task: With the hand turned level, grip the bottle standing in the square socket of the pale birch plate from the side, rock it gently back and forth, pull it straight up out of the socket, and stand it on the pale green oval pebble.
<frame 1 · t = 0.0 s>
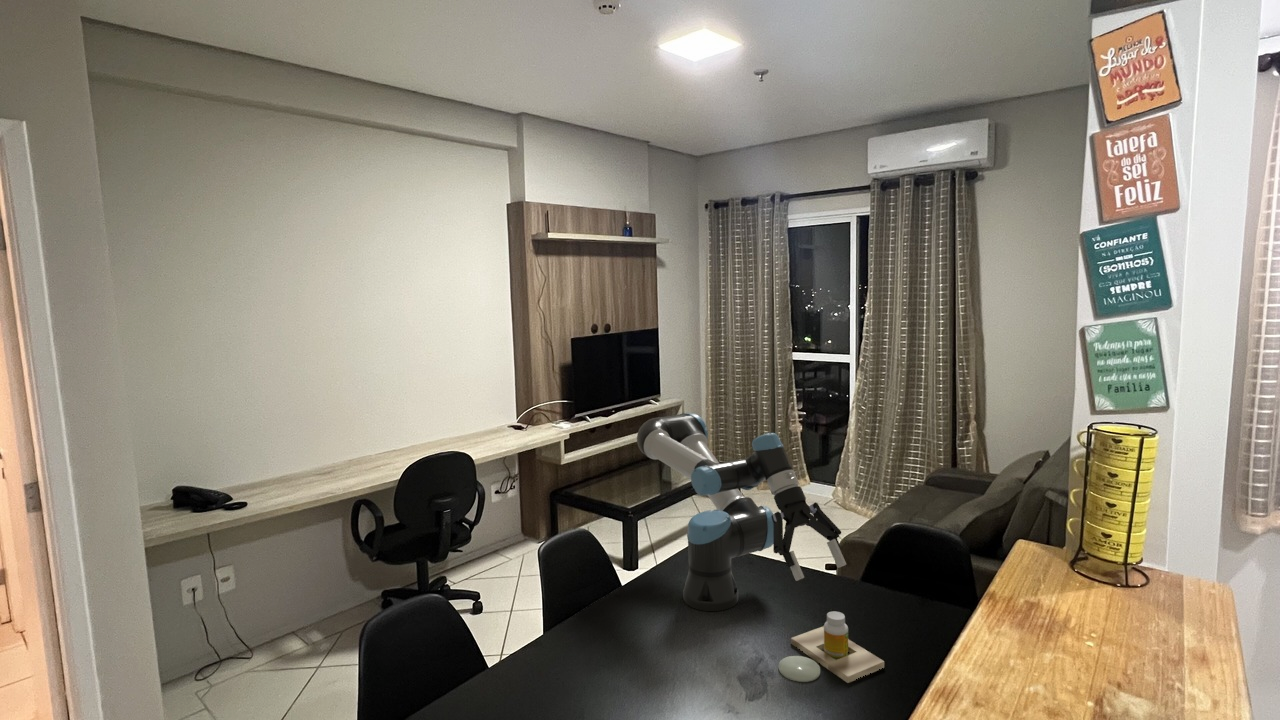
hand: (821, 572, 156), 15 cm above the table, tool tilted 35°, fingers open, 13 cm apart
supplement bottle: (836, 656, 148), resting in socket plate
socket plate: (836, 655, 148), on the table
pale green oval pebble: (799, 669, 143), on the table
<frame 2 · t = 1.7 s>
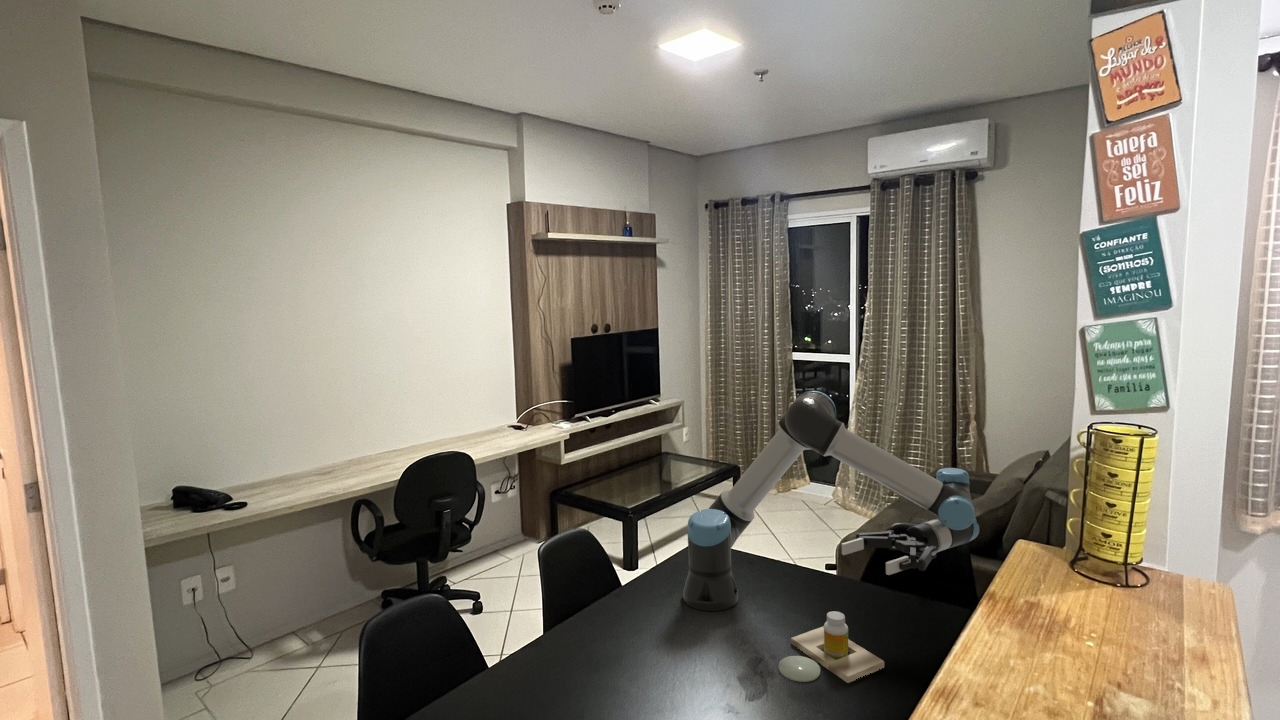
hand: (863, 558, 150), 21 cm above the table, tool horizontal, fingers open, 13 cm apart
nothing on the table moved.
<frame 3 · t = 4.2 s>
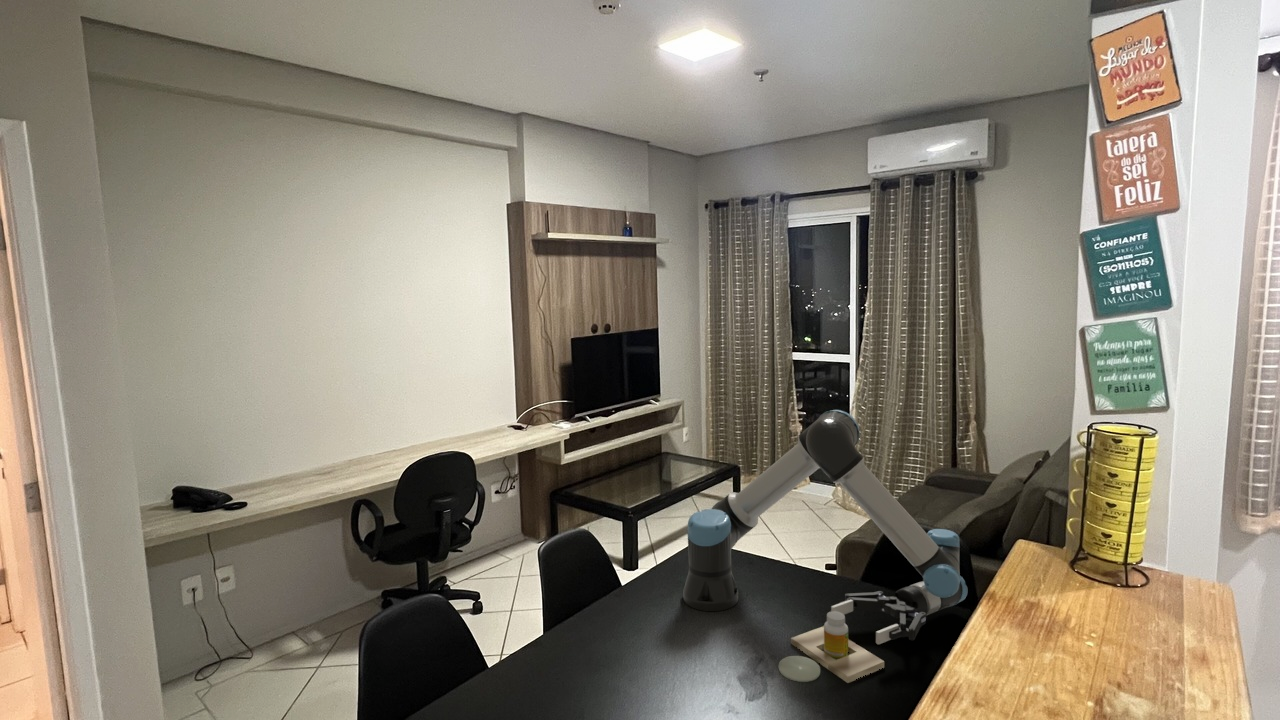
hand: (853, 624, 149), 6 cm above the table, tool horizontal, fingers open, 13 cm apart
nothing on the table moved.
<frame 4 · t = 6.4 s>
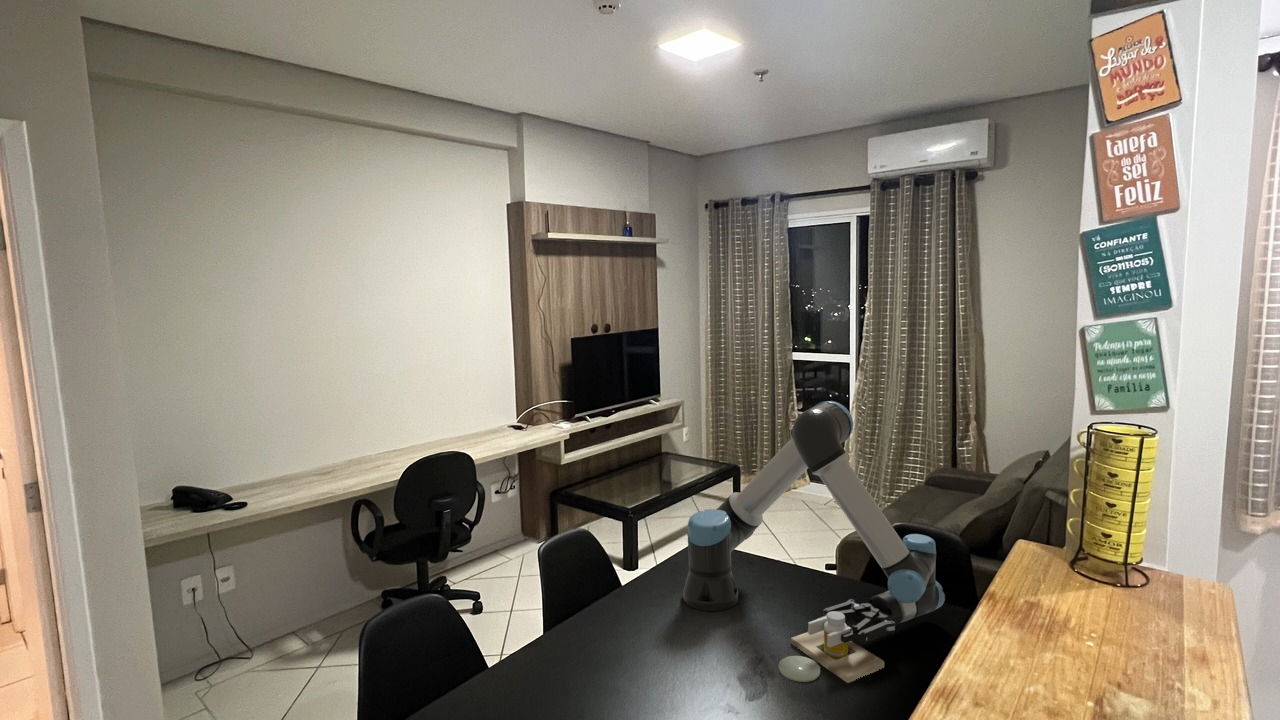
hand: (818, 634, 145), 7 cm above the table, tool horizontal, fingers closed on supplement bottle, 5 cm apart
supplement bottle: (836, 656, 148), resting in socket plate, touching gripper
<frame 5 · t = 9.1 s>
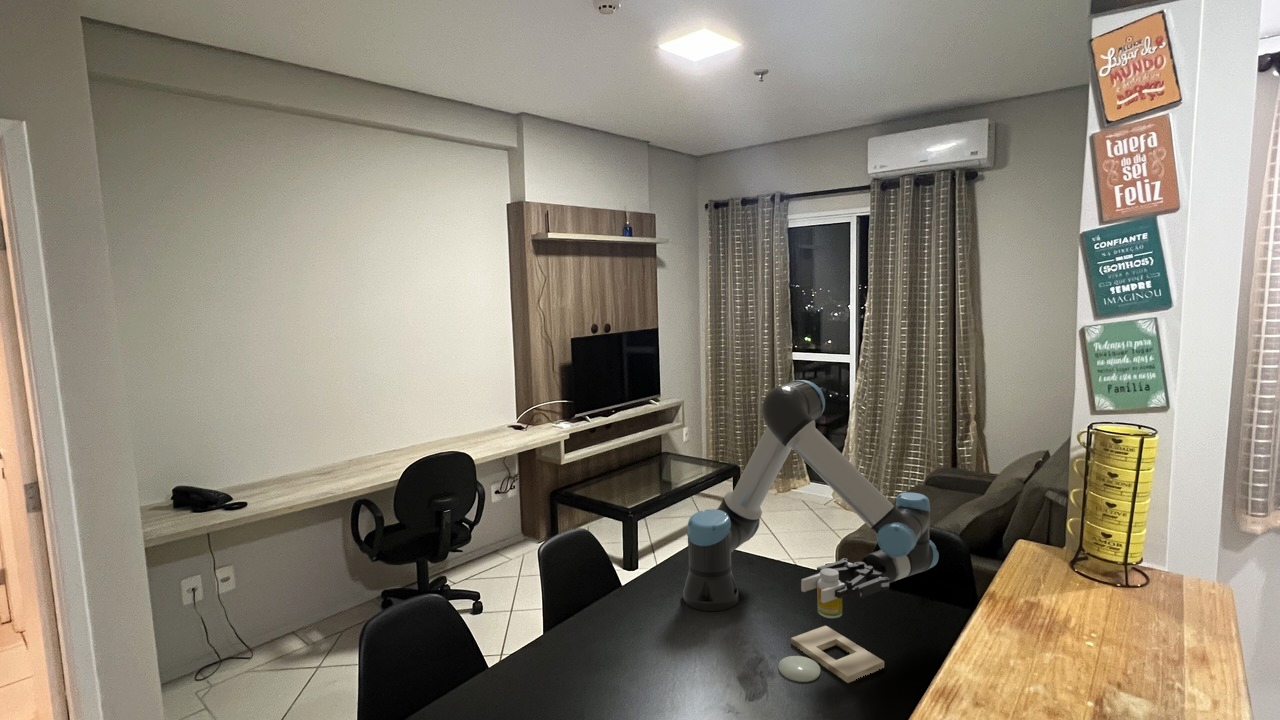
hand: (812, 591, 142), 18 cm above the table, tool horizontal, fingers closed on supplement bottle, 5 cm apart
supplement bottle: (830, 613, 145), point 11 cm above the table, touching gripper
when the fingers open (8 cm above the table, at t = 11.7 s): supplement bottle drops 1 cm, resting on pale green oval pebble.
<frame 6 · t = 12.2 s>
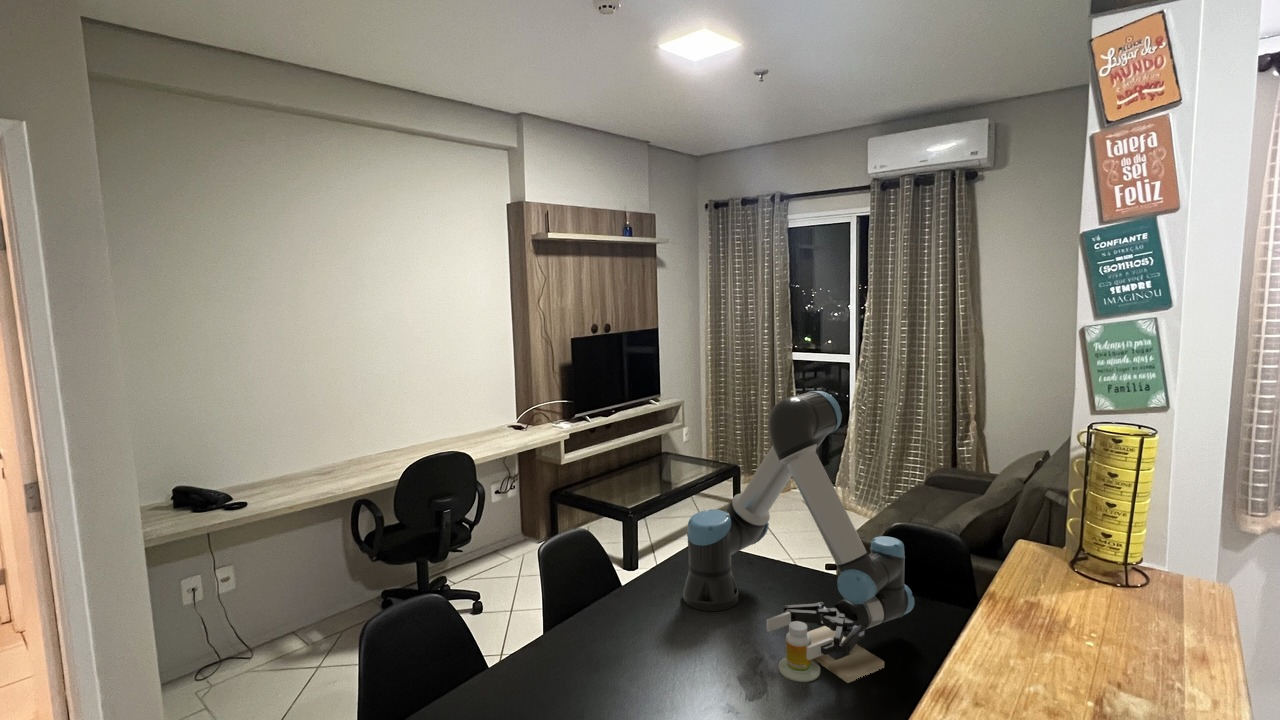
hand: (786, 638, 140), 8 cm above the table, tool horizontal, fingers open, 12 cm apart
supplement bottle: (799, 667, 143), resting on pale green oval pebble
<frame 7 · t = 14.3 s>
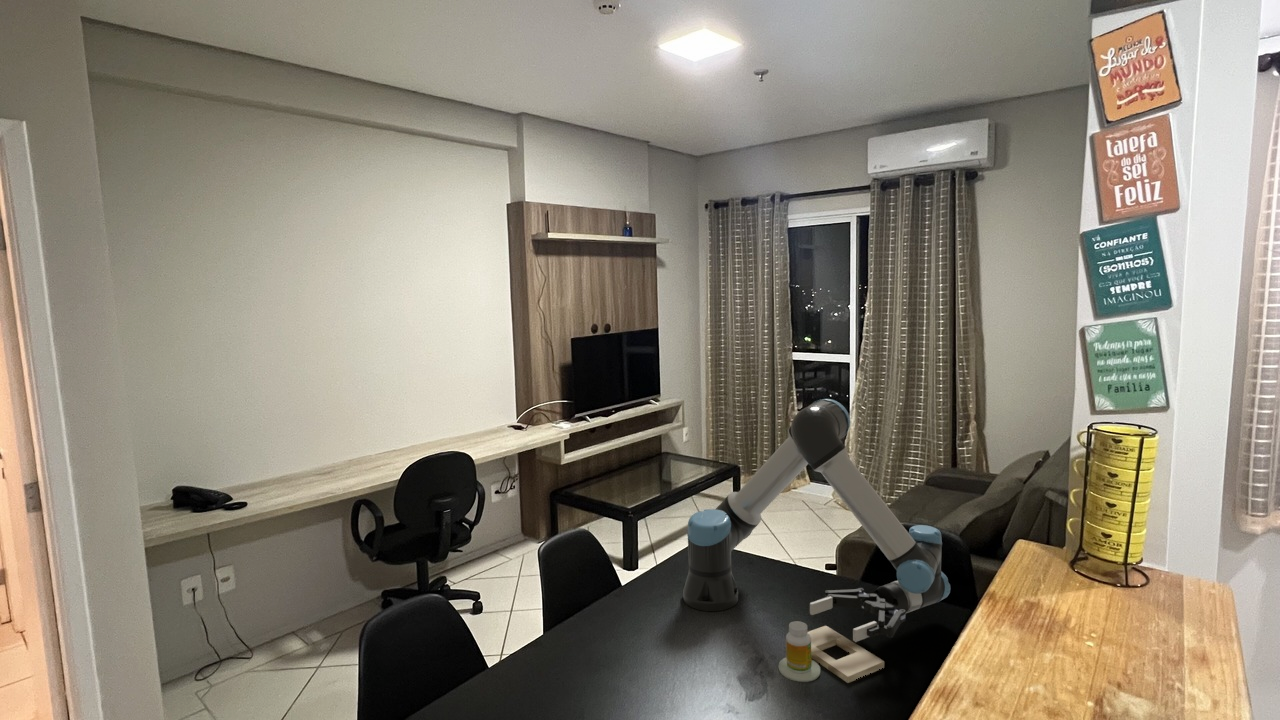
hand: (831, 621, 146), 8 cm above the table, tool horizontal, fingers open, 13 cm apart
nothing on the table moved.
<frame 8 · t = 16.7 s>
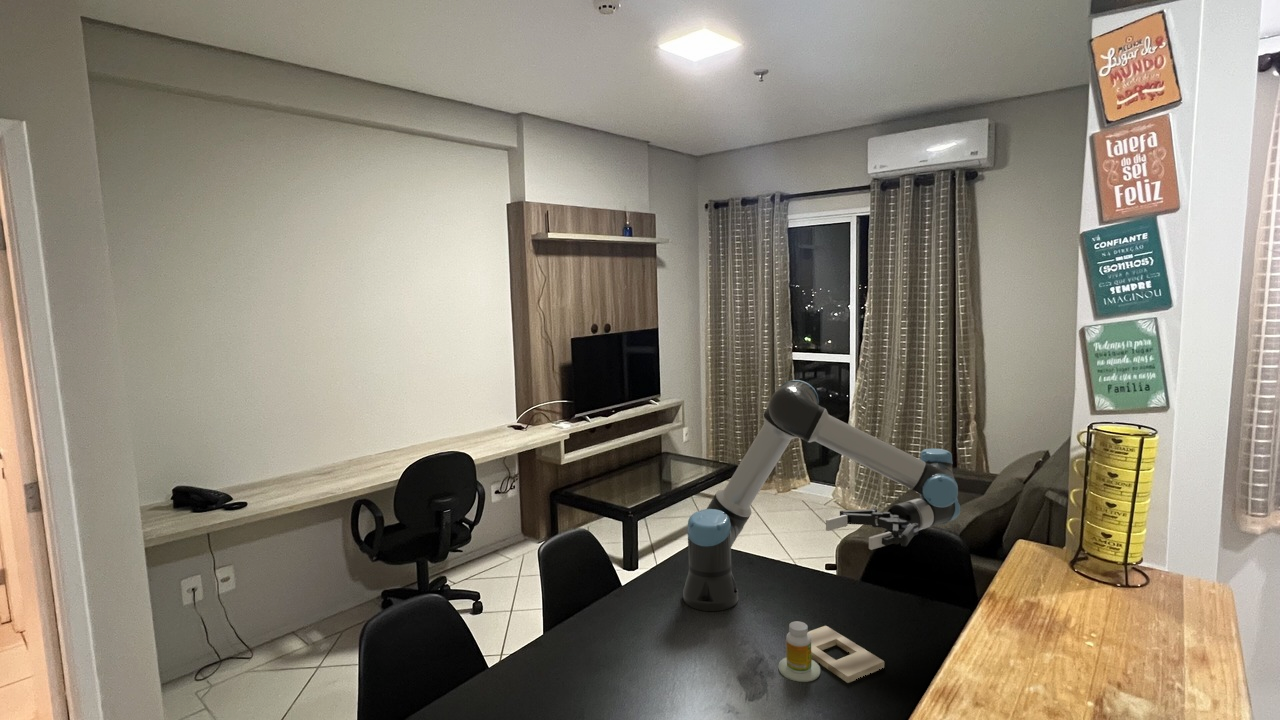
hand: (847, 534, 152), 26 cm above the table, tool horizontal, fingers open, 13 cm apart
nothing on the table moved.
at the end: supplement bottle 0.1 cm off-centre on the pale green oval pebble, point 0.4 cm above the pale green oval pebble's base; supplement bottle tilted 1°; the gripper is holding nothing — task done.
